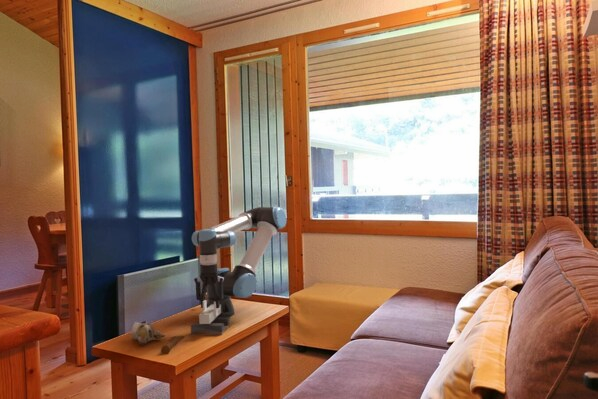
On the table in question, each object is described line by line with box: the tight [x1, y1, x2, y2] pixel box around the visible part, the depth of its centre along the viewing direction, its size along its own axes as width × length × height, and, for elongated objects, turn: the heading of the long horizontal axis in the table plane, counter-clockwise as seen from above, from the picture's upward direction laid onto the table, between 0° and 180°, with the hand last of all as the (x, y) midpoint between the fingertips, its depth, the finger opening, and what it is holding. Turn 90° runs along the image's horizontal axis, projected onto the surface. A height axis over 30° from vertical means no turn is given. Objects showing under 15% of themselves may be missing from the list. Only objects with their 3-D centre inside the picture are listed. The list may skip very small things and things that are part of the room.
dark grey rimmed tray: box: [190, 316, 231, 336], centre depth 184 cm, size 12×14×4 cm
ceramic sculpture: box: [130, 320, 166, 345], centre depth 173 cm, size 11×9×15 cm
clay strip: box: [198, 304, 221, 324], centre depth 184 cm, size 16×4×4 cm, turn 173°
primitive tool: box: [160, 335, 185, 355], centre depth 168 cm, size 19×6×4 cm, turn 4°
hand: (210, 315), depth 184 cm, fingers closed on clay strip, 4 cm apart
